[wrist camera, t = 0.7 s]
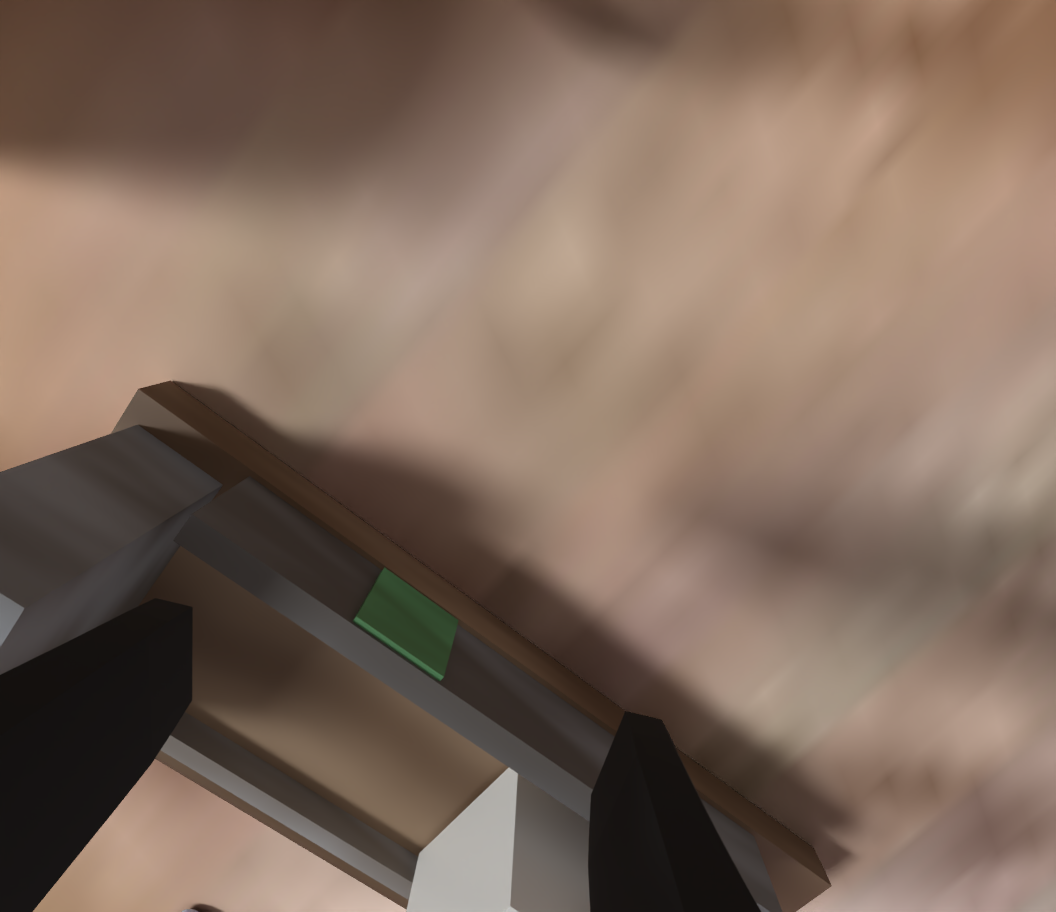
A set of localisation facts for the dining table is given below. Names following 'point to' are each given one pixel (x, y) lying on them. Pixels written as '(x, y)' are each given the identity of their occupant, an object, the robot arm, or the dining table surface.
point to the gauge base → (318, 651)
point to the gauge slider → (506, 855)
